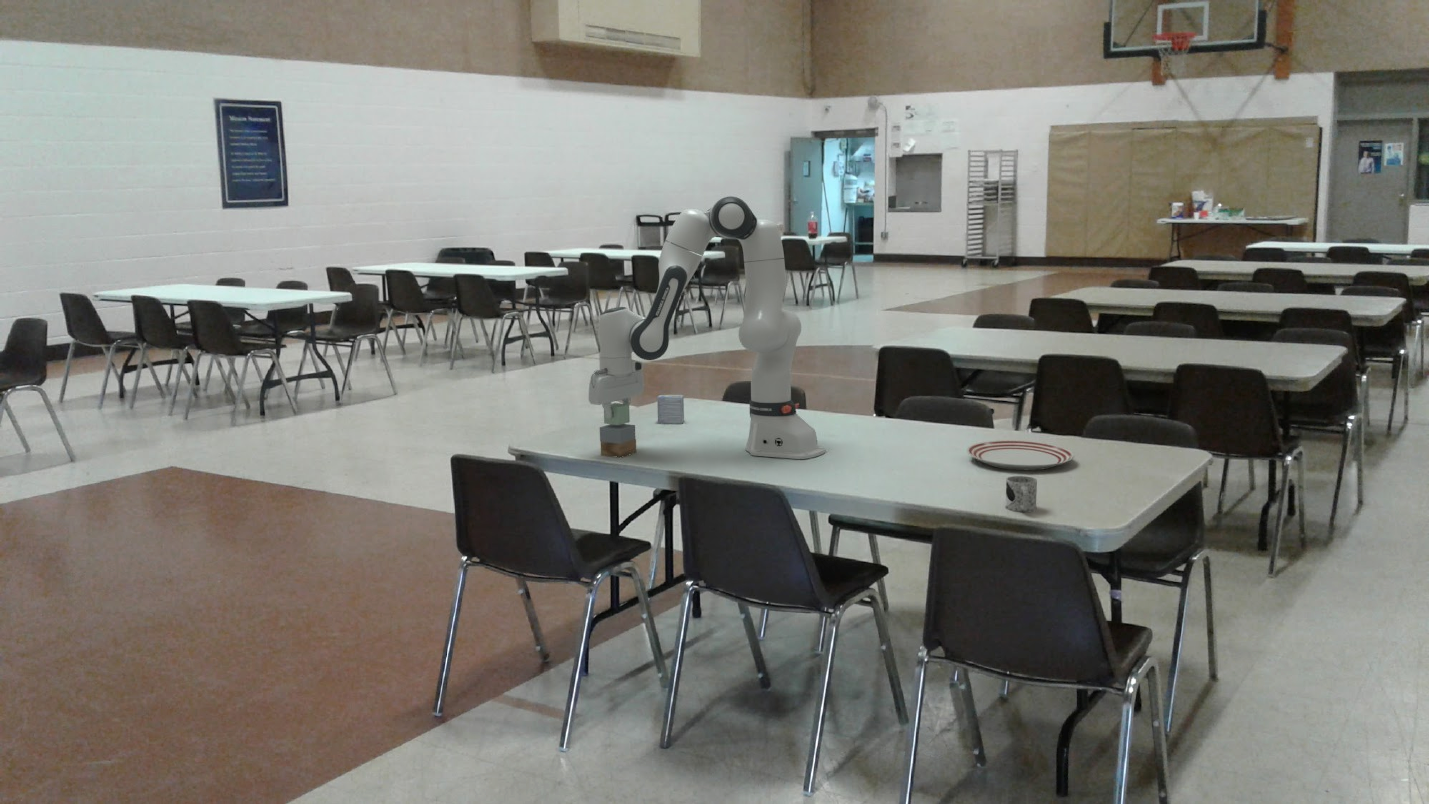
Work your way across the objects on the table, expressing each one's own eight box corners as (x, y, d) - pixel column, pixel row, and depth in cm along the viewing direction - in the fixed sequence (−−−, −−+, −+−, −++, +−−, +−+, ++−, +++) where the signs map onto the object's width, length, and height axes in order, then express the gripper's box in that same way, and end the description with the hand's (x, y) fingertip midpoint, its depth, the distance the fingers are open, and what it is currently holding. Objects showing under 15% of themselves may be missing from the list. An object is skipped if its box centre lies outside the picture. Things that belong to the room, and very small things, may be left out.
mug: (1003, 504, 265) (1004, 475, 264) (1033, 504, 264) (1034, 476, 263) (1010, 516, 255) (1011, 486, 254) (1041, 516, 254) (1042, 487, 253)
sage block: (629, 422, 322) (629, 404, 321) (618, 425, 318) (617, 407, 317) (615, 420, 325) (615, 402, 324) (604, 423, 321) (603, 405, 320)
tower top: (635, 439, 323) (635, 425, 322) (620, 443, 317) (620, 429, 316) (615, 436, 327) (614, 422, 326) (600, 441, 321) (599, 427, 320)
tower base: (636, 453, 324) (636, 439, 323) (620, 458, 318) (620, 443, 317) (616, 450, 327) (616, 436, 327) (600, 455, 322) (600, 441, 321)
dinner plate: (1092, 472, 295) (1093, 459, 295) (990, 477, 291) (991, 464, 290) (1045, 449, 322) (1045, 437, 322) (951, 454, 318) (951, 442, 317)
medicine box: (684, 421, 368) (683, 394, 367) (682, 424, 364) (682, 397, 362) (659, 421, 369) (659, 394, 367) (657, 424, 364) (657, 397, 363)
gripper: (600, 372, 308) (601, 423, 311) (647, 362, 325) (648, 411, 327) (582, 370, 312) (583, 421, 314) (629, 361, 328) (630, 409, 331)
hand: (617, 416), depth 321 cm, fingers closed on sage block, 5 cm apart
